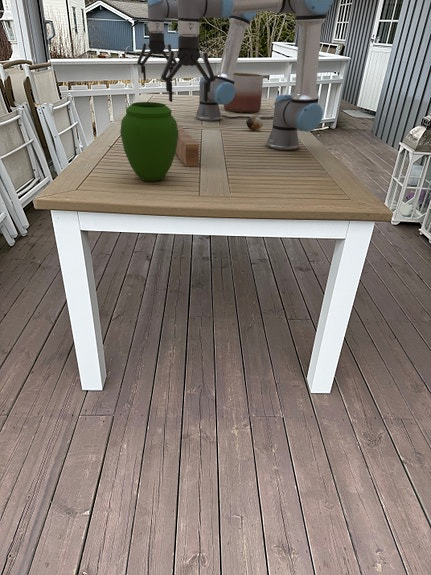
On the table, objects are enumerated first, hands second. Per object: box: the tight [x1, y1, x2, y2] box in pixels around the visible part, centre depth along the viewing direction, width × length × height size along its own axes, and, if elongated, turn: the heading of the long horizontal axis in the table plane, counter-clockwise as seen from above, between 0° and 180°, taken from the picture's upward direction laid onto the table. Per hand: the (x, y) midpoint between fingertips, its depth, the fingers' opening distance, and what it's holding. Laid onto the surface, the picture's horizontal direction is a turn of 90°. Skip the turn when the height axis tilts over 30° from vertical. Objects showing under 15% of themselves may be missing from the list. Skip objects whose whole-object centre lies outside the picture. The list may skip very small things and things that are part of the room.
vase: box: [119, 101, 179, 182], centre depth 140 cm, size 20×20×24 cm
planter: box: [223, 72, 264, 114], centre depth 276 cm, size 25×25×22 cm
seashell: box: [245, 114, 264, 131], centre depth 224 cm, size 10×6×8 cm, turn 97°
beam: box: [175, 123, 200, 167], centre depth 194 cm, size 84×5×8 cm, turn 16°
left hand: (157, 80), depth 212 cm, fingers open, 13 cm apart
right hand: (188, 101), depth 156 cm, fingers open, 13 cm apart
